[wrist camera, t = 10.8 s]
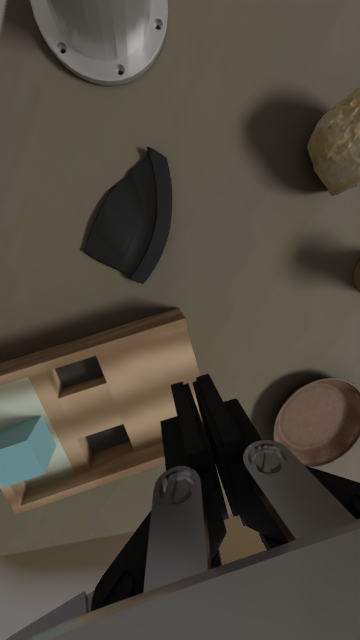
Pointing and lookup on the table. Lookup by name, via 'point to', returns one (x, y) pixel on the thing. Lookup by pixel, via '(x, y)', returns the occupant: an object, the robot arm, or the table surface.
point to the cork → (357, 276)
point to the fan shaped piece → (135, 220)
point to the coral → (338, 145)
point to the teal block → (25, 451)
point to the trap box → (98, 404)
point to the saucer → (320, 421)
